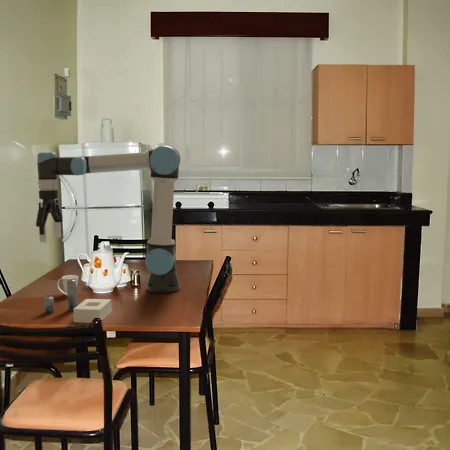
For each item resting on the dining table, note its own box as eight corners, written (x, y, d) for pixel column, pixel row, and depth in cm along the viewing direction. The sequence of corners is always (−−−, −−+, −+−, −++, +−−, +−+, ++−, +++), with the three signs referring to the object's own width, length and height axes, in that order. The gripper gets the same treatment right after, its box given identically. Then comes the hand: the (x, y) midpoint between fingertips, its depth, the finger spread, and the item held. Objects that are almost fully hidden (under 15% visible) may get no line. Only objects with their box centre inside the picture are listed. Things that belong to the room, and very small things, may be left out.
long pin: (78, 308, 215) (77, 279, 214) (75, 311, 212) (74, 281, 210) (70, 308, 216) (69, 279, 214) (66, 311, 212) (65, 281, 210)
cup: (73, 297, 233) (72, 279, 232) (53, 295, 235) (52, 277, 234) (82, 293, 239) (81, 275, 238) (62, 291, 242) (61, 274, 241)
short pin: (55, 311, 212) (54, 296, 211) (51, 314, 208) (51, 298, 208) (46, 311, 212) (46, 296, 212) (42, 313, 209) (42, 298, 208)
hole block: (111, 311, 211) (111, 299, 211) (100, 322, 197) (99, 309, 197) (86, 311, 212) (86, 298, 211) (73, 322, 198) (73, 309, 198)
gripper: (52, 187, 239) (54, 235, 241) (25, 191, 214) (28, 244, 217) (68, 187, 238) (70, 235, 241) (43, 191, 213) (45, 244, 216)
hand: (50, 239), depth 229 cm, fingers open, 13 cm apart
